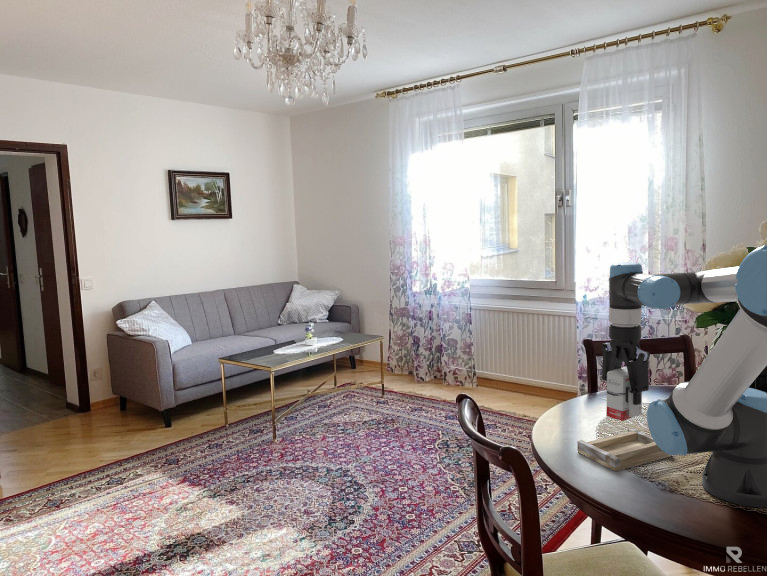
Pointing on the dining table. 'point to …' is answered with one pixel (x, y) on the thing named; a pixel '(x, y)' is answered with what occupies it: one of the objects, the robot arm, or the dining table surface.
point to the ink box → (619, 394)
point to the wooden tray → (622, 450)
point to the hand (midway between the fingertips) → (624, 412)
